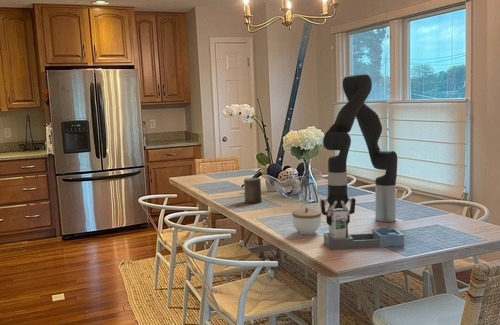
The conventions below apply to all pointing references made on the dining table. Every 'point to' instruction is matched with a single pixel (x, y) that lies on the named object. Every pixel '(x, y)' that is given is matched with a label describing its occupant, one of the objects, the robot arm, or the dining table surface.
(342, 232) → the syrup box
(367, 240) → the frame
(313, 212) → the lidded bowl
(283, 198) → the dining table surface
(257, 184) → the pillar candle
